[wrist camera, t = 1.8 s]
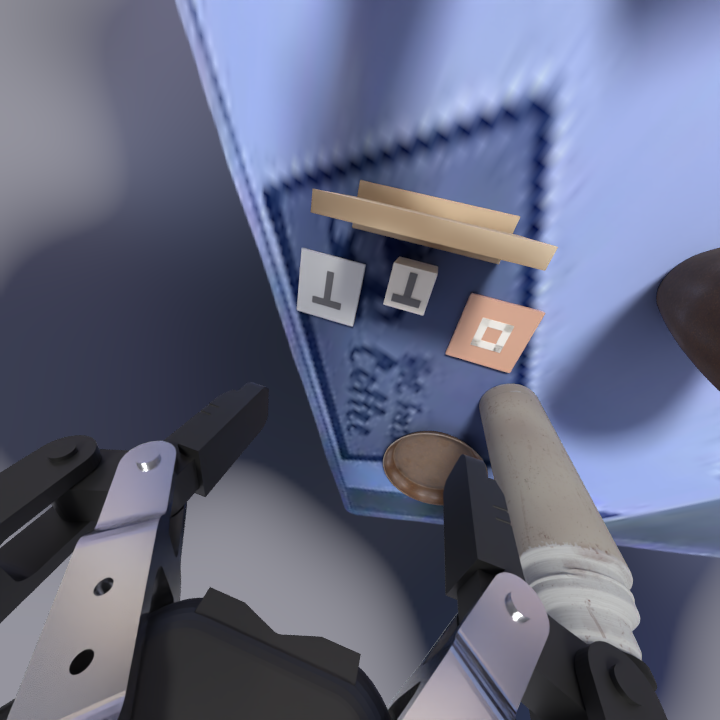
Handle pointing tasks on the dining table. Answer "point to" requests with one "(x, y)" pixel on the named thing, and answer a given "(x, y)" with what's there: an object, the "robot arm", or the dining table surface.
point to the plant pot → (695, 310)
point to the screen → (434, 223)
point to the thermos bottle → (558, 525)
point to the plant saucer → (424, 463)
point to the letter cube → (410, 285)
